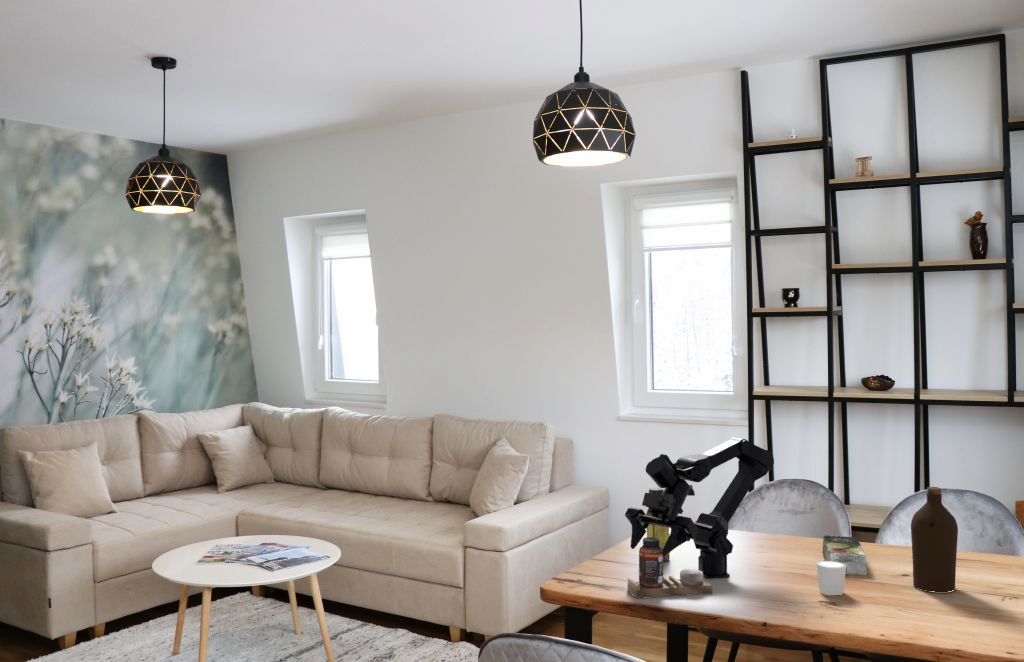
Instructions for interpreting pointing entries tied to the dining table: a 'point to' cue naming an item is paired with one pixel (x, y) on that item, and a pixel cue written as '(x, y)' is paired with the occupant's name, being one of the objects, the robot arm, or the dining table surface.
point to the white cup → (831, 577)
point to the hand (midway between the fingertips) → (647, 551)
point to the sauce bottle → (658, 527)
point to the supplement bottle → (651, 563)
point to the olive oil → (934, 545)
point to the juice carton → (845, 553)
